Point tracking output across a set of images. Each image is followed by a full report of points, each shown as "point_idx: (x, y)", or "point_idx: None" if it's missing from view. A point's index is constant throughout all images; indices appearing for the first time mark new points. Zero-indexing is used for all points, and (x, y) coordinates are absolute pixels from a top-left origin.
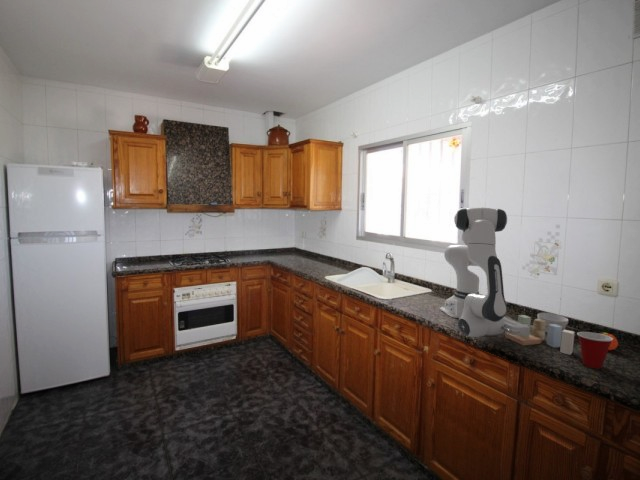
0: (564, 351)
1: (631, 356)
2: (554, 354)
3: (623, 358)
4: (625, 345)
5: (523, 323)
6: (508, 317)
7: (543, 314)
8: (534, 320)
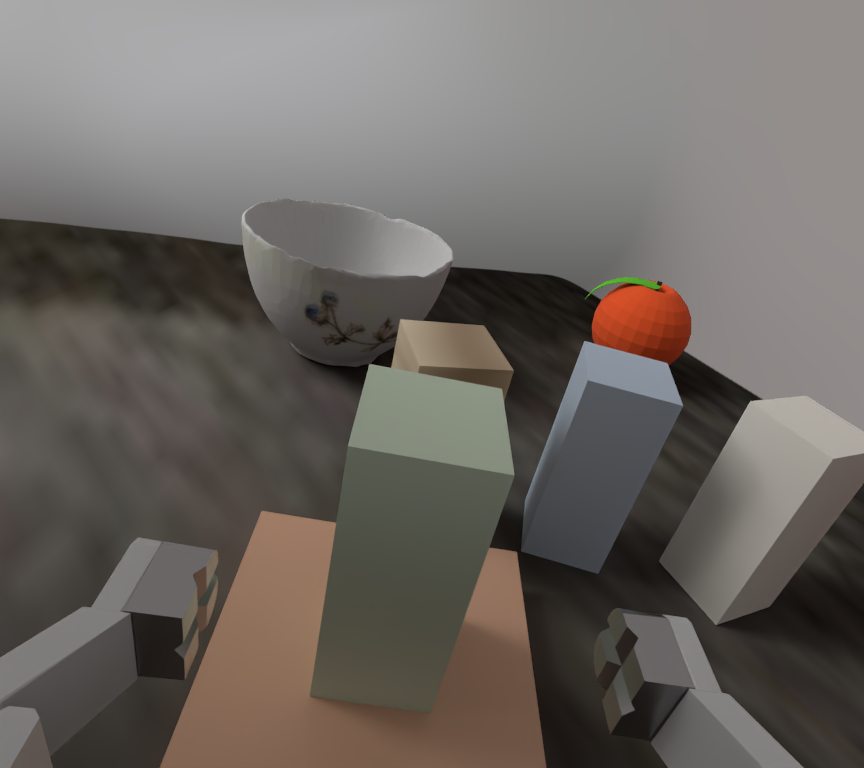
0: (750, 605)
1: (703, 367)
2: (799, 741)
3: (740, 406)
4: (573, 296)
5: (644, 676)
6: (174, 596)
7: (259, 219)
8: (426, 371)
